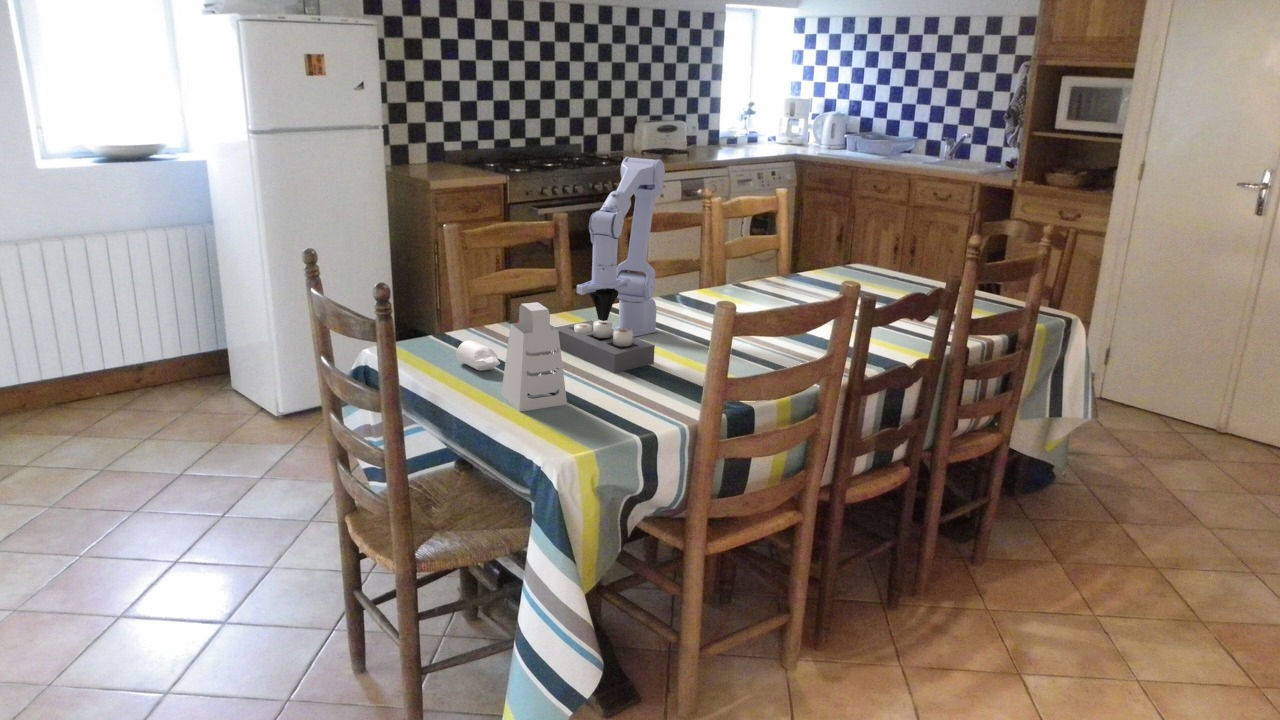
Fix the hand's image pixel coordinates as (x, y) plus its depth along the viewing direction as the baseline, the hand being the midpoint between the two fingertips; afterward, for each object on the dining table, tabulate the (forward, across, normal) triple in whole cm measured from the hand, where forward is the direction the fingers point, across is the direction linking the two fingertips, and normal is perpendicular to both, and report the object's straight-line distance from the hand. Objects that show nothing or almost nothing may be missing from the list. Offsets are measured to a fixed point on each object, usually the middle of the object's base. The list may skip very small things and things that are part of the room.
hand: (602, 319), depth 222 cm
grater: (+9, -30, -15) cm, 35 cm away
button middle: (+4, 0, 0) cm, 4 cm away
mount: (+9, 0, 0) cm, 9 cm away
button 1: (+6, 0, +7) cm, 10 cm away
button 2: (+4, 0, -8) cm, 8 cm away
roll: (+9, -29, +7) cm, 31 cm away
